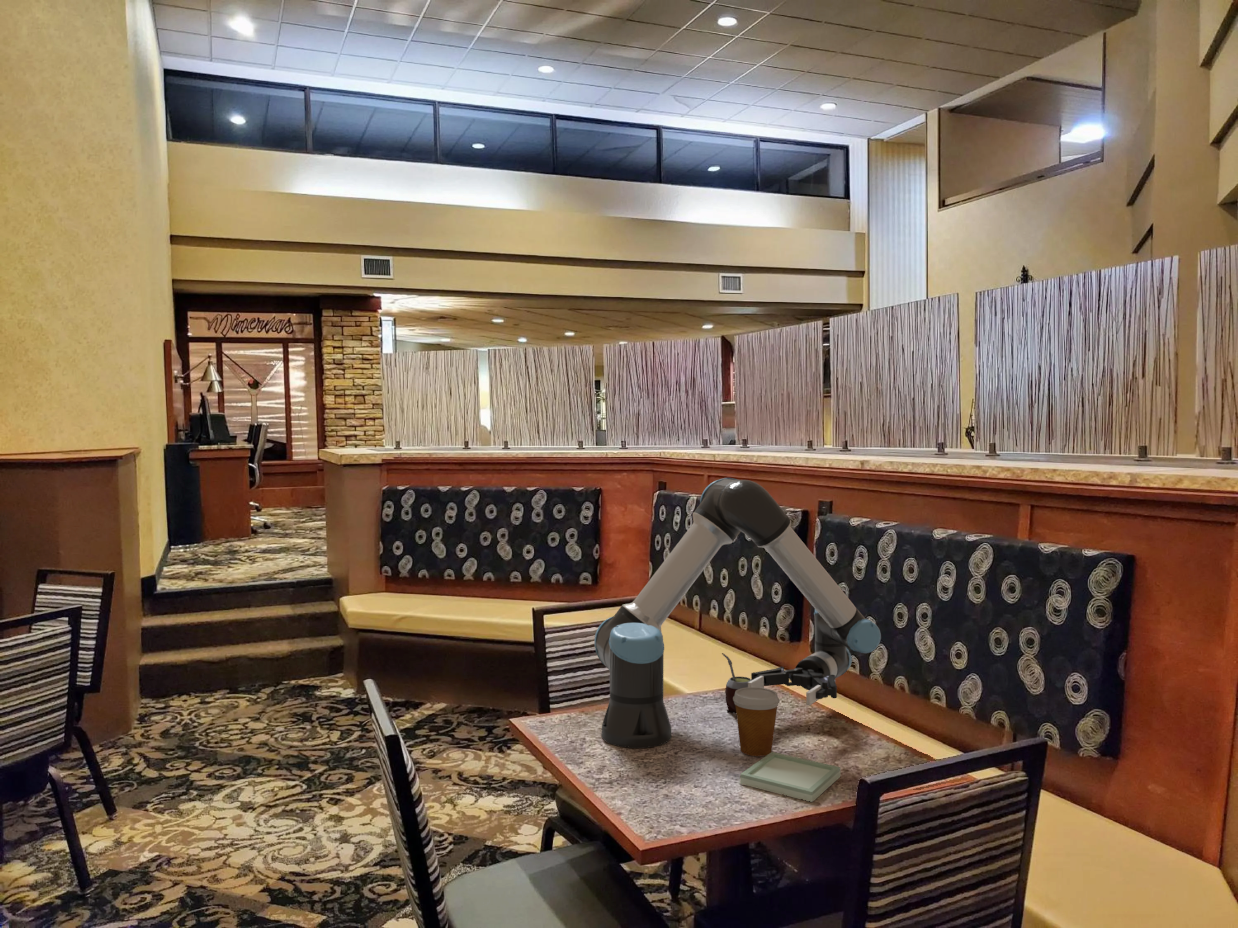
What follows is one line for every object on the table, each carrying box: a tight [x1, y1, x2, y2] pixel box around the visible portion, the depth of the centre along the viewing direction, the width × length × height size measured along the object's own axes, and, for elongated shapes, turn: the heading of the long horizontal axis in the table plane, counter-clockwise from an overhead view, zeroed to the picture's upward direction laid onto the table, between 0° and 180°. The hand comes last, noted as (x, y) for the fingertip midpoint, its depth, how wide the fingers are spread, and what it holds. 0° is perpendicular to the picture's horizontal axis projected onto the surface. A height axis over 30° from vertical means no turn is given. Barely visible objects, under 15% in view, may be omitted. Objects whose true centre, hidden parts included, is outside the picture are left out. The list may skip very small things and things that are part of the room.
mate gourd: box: [721, 653, 751, 714], centre depth 194 cm, size 8×8×15 cm
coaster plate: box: [739, 751, 841, 803], centre depth 154 cm, size 14×14×2 cm
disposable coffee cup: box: [733, 687, 781, 757], centre depth 169 cm, size 10×10×12 cm
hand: (778, 693), depth 177 cm, fingers open, 13 cm apart
